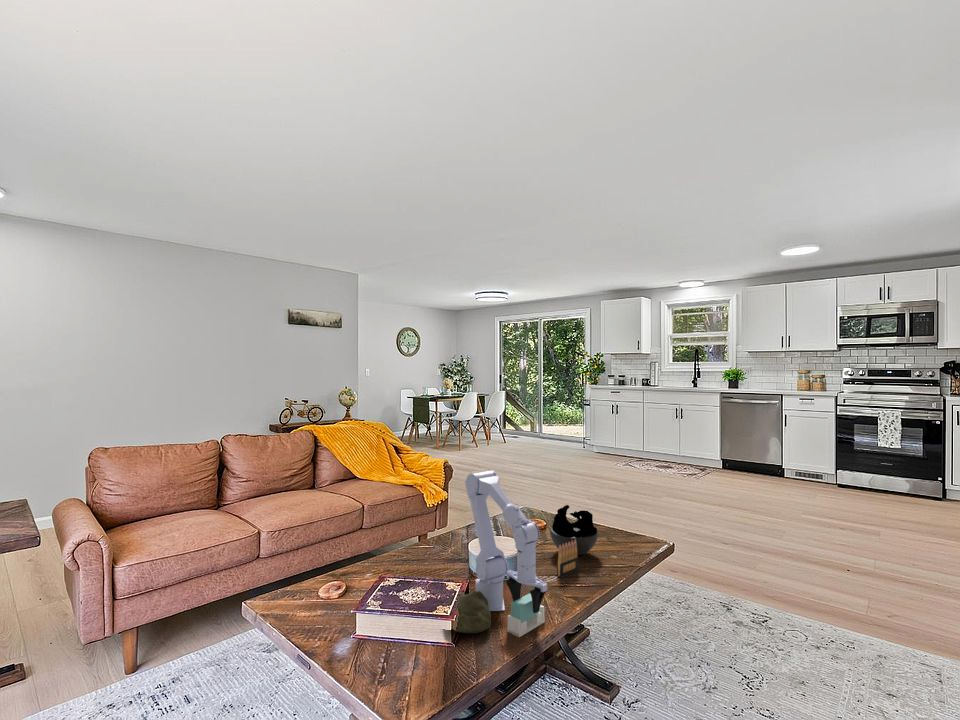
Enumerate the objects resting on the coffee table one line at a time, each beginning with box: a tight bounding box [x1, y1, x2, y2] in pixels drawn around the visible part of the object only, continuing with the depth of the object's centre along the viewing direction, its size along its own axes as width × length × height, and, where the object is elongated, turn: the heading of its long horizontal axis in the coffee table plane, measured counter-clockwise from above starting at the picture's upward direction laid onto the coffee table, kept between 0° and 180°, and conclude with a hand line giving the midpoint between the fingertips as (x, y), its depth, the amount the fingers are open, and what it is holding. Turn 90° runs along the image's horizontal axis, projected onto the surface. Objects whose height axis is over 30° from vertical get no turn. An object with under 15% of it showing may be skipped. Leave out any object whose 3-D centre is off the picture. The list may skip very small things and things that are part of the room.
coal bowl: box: [549, 504, 599, 557], centre depth 217 cm, size 20×20×19 cm
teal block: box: [510, 592, 539, 623], centre depth 158 cm, size 9×4×5 cm, turn 136°
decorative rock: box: [456, 591, 492, 634], centre depth 159 cm, size 15×16×10 cm
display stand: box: [506, 604, 546, 638], centre depth 159 cm, size 12×5×5 cm, turn 136°
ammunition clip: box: [556, 539, 579, 578], centre depth 198 cm, size 11×2×12 cm, turn 130°
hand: (526, 607), depth 159 cm, fingers open, 7 cm apart
